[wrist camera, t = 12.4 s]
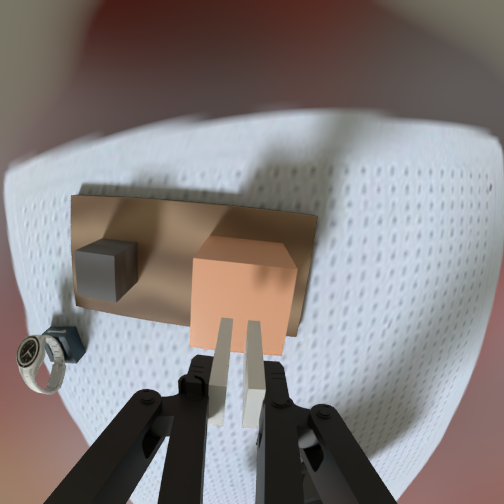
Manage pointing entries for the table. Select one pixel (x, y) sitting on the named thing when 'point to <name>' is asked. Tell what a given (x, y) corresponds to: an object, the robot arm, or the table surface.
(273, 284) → the peach cube
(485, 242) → the table surface
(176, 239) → the post board
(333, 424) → the robot arm
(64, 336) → the watch
